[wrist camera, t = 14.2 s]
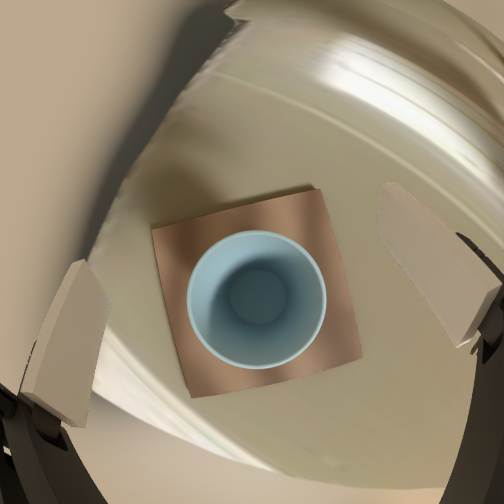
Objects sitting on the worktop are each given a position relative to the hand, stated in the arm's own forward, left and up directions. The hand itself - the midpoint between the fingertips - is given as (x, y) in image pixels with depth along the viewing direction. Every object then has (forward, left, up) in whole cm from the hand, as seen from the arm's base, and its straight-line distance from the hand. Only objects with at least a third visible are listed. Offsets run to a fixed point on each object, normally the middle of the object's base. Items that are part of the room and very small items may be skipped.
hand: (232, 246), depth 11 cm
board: (0, +2, -15) cm, 16 cm away
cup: (0, +2, -15) cm, 15 cm away
